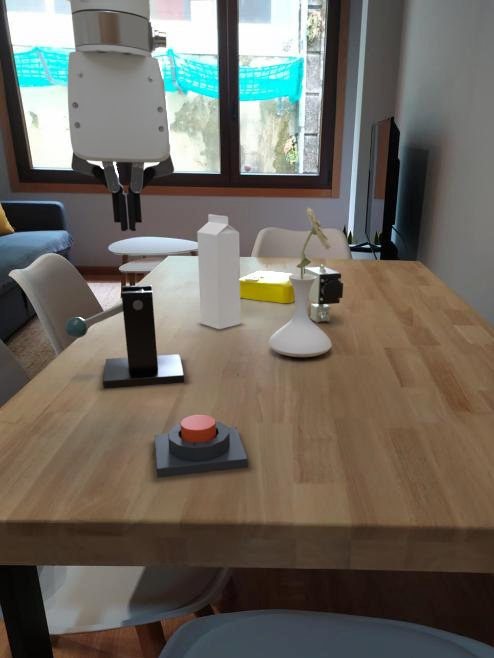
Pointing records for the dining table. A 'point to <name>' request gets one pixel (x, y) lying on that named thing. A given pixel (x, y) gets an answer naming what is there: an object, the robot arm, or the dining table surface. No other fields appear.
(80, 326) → the tap lever
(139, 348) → the lever base
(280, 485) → the dining table surface
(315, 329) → the flower in vase
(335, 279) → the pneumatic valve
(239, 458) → the button housing
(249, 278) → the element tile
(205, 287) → the milk
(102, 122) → the robot arm
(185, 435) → the button
